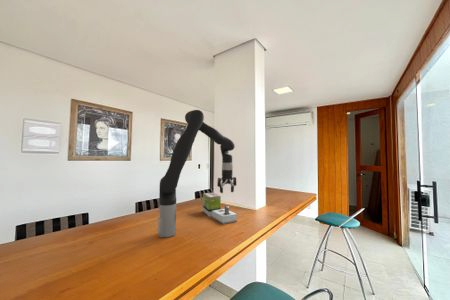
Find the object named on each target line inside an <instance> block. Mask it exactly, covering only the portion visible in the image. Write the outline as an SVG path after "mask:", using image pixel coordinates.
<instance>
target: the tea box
mask: <svg viewBox="0 0 450 300" xmlns="http://www.w3.org/2000/svg"><path fill="white" fill-rule="evenodd" d="M221 201H222V200H221V195H219V194H217V193H215V192H206V193H202V211H203V213H205V214H206V215H207V216H208V217H212V211H213V210H219V209H222V207H221V206H222V205H221V204H222V203H221Z"/></svg>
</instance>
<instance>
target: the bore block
mask: <svg viewBox="0 0 450 300" xmlns="http://www.w3.org/2000/svg"><path fill="white" fill-rule="evenodd" d="M211 218H212V219H214V220H215V221H216V222H219V223H221V224H222V225H226V224H231V223H235V222H238V215H237V213H235V212H233V211H231V210H229V215H225V208H221V209H219V210H213V211H212V216H211Z"/></svg>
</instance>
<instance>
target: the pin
mask: <svg viewBox="0 0 450 300" xmlns="http://www.w3.org/2000/svg"><path fill="white" fill-rule="evenodd" d="M224 209H225V215H229V211H230V206H229V205H224Z"/></svg>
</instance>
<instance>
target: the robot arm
mask: <svg viewBox="0 0 450 300" xmlns="http://www.w3.org/2000/svg"><path fill="white" fill-rule="evenodd" d="M204 119H205V115H204V112H202V111H201V110H200V109H194V110H190V111H187V112H186V114H185V116H184V121H185V122H186V124H187V126H186V129H185V130H184V132H183V133H182V134H181V135H180V136H179V139H177V141H176V143H175V146H174V148H173V150H172V154H171V157H170V162H169V166H168V168H167V171H166V172H165V174H164V176H162V177H161V178H160V180H159V193H158V194H159V213H158V214H159V215H158V219H157V220H158V222H157V224H158V227H157V234H158V236H159V239H160V238H170V237H174V236H176V234H177V193H176V192H177V187H178V184H179V179H180V177H181V173H182V170H183V168H184V166H185V163H186V162H187V159H188V158H189V155H190V153H191V150H192V147H193V145H194V142H195V139H196V138H197V134H198V133H199V132H201V133H202V134H204V135H206V137H208V138H209V139H210V140H212V141H213V142H215V144H217V145H219V147H220V153H221V159H222V160H221V162H222V163H221V177H217V182H216V183H217V185H216V187H217V188H219V192H220V194H223V193H224V186H225V185H227V184H228V185H230V193H234V192H235V187H236V186H237V177H235V176H233V173H234V172H233V168H234V167H233V155H232V154H231V153H229V152H230V151H233V150H234V149H235V147H236V146H235V142H234V141H233V140H232V139H230V138H228V137H226V136H224V135H223V133H221V132H220V131H218V129H215V128H214V127H212V126H210V125H209V124H207V123H206V122H204Z"/></svg>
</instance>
